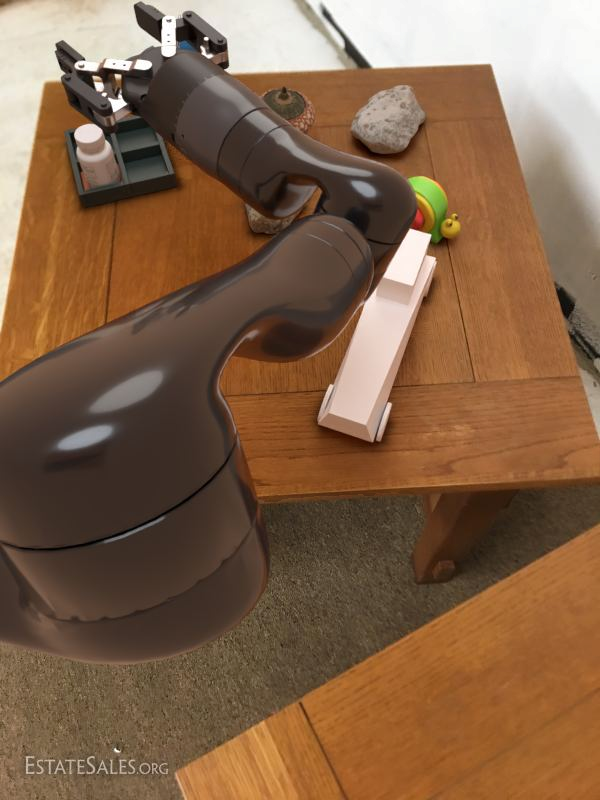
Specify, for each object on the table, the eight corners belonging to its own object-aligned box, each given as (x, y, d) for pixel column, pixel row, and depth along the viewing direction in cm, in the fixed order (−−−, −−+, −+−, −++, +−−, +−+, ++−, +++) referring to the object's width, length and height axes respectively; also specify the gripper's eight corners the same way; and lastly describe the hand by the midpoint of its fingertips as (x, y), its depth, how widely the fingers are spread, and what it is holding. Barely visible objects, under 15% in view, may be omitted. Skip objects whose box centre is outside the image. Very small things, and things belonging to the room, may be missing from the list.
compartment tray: (83, 208, 85) (78, 195, 83) (68, 144, 90) (63, 130, 88) (177, 186, 86) (174, 173, 84) (156, 125, 92) (153, 111, 90)
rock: (307, 233, 83) (308, 207, 79) (246, 236, 83) (244, 210, 79) (303, 192, 86) (303, 165, 82) (244, 195, 86) (242, 168, 82)
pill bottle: (116, 165, 87) (101, 117, 80) (124, 188, 85) (109, 140, 78) (84, 174, 86) (66, 125, 80) (91, 196, 85) (73, 149, 78)
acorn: (242, 148, 90) (236, 83, 81) (286, 120, 93) (285, 55, 84) (281, 180, 87) (280, 117, 78) (326, 151, 90) (329, 87, 81)
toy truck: (381, 262, 81) (391, 208, 73) (436, 278, 80) (452, 225, 72) (314, 432, 70) (316, 392, 62) (376, 453, 69) (387, 415, 61)
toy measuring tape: (440, 262, 81) (452, 225, 75) (318, 189, 86) (320, 149, 81) (467, 231, 83) (480, 193, 77) (347, 162, 89) (351, 122, 83)
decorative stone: (428, 162, 89) (436, 132, 85) (350, 162, 89) (353, 132, 84) (421, 102, 95) (427, 71, 90) (347, 102, 95) (350, 70, 90)
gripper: (276, 42, 53) (154, -42, 58) (136, 123, 48) (17, 23, 54) (277, 119, 60) (168, 37, 65) (154, 197, 55) (47, 102, 60)
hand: (100, 31), depth 59 cm, fingers open, 8 cm apart
